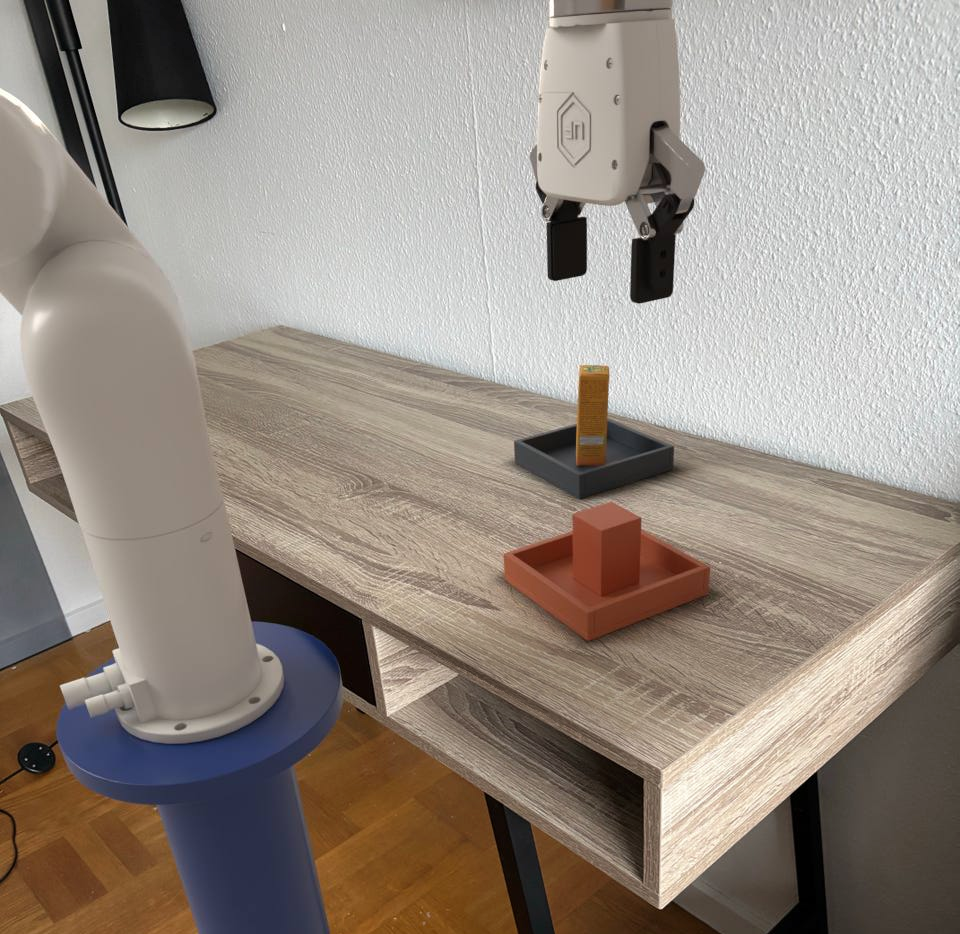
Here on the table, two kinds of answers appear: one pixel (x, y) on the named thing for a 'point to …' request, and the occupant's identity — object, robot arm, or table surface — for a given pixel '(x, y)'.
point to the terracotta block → (606, 548)
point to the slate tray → (624, 464)
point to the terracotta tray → (660, 588)
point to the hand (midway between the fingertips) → (607, 288)
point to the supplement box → (592, 415)
